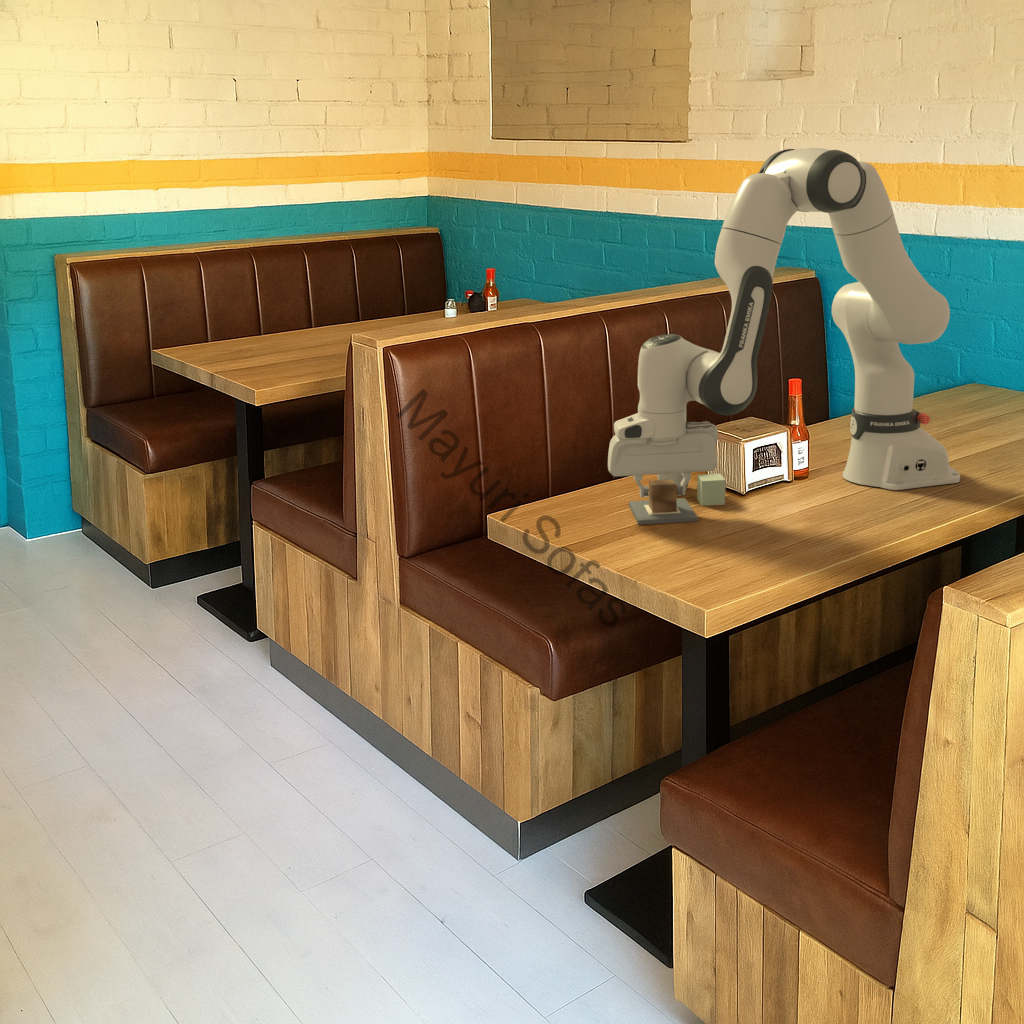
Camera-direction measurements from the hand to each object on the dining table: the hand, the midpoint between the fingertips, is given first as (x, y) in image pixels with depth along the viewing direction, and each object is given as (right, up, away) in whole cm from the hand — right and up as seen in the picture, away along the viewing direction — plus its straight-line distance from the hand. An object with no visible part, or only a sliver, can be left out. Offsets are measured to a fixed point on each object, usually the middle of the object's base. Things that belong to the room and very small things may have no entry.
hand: (662, 495), depth 213 cm
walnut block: (0, -3, +1) cm, 3 cm away
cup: (+4, +1, +16) cm, 16 cm away
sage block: (+10, -1, +7) cm, 12 cm away
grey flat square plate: (0, -3, +1) cm, 4 cm away
